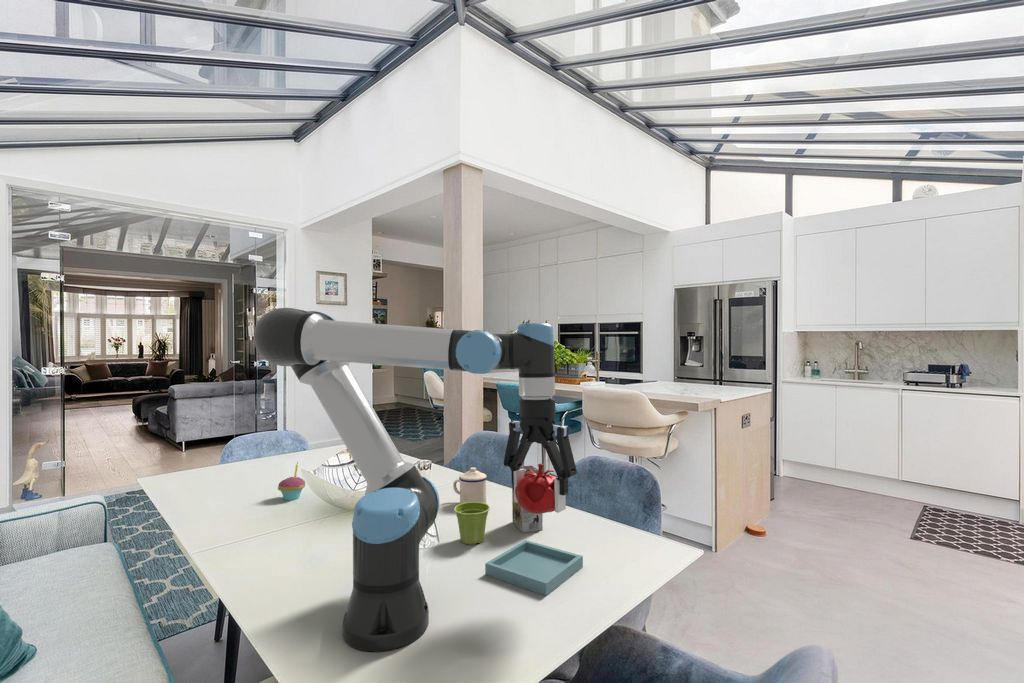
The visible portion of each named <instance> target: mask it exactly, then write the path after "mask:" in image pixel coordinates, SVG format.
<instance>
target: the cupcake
mask: <svg viewBox="0 0 1024 683" xmlns="http://www.w3.org/2000/svg"><path fill="white" fill-rule="evenodd" d="M298 467H299V462H298V461H297V462H296V465H295V470H294V475H293V476H289V477H287V478H285V479H283V480H281V481H280V482H279V483H278V485H277V491H280V493H281V494H282V497H283V500H285V501H295V500H298V499H300V498H301V494H302V491H303V489H304V488H305V487H306V481H305V480H304V478H302V477H299V476H297V474H298V470H299V469H298Z"/></svg>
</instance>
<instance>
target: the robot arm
mask: <svg viewBox="0 0 1024 683" xmlns="http://www.w3.org/2000/svg"><path fill="white" fill-rule="evenodd" d="M253 345H254V347H255V349H256V351H257V353H258V354H259V356H261V358H262V359H264V360H265V361H267V362H268V363H270V364H273V365H274V366H275V365H276V366H280V367H291V369H292V371H293V372H294V375H295V376H296V377H297V380H298V381H299V383H302V384H305V385H309V386H310V387H311V389H312V390H313V392H314V393H315V395H316V397H317V399H318V400H319V402H320V405H322V407H323V410H324V411H325V412H326V414H327V416H328V417H329V419H330V421H331V423H332V425H333V426H334V428H335V430H336V432H337V433H338V435H339V436H340V438H341V440H342V442H343V444H344V446H345V447H346V449H347V450H348V452H349V454H350V455H351V457H352V459H353V461H354V463H355V465H356V467H357V468H358V470H359V471H360V473H361V475H362V477H363V478H364V481H365V482H366V488H365V493H364V495H363V496H361V498H359V500H358V501H357V502H356V503H355V506H354V508H353V516H352V522H351V526H352V575H353V576H352V578H353V580H352V584H353V585H352V591H351V593H350V597H349V601H348V604H347V608H346V611H345V613H344V615H343V619H342V638H343V640H344V642H345V643H346V644H348V645H349V646H350V647H352V648H354V649H357V650H360V651H366V652H383V651H385V652H386V651H391V650H395V649H398V648H401V647H404V646H406V645H409V644H411V643H412V642H414V641H416V640H417V639H419V638H420V637H421V636H422V635H423V634H424V633H425V631H426V630H427V628H428V626H429V624H430V622H429V621H430V619H429V617H430V616H429V614H430V613H429V612H430V610H429V605H428V602H427V601H426V600H427V599H426V597H425V593H424V590H423V587H422V585H421V584H422V583H421V581H420V543H421V541H423V539H424V536H425V535H426V534H427V532H428V531H429V530H430V528H431V527H432V526H433V524H434V523H435V521H436V520H437V515H438V512H439V509H440V496H439V492H438V489H437V488H436V486H435V484H434V483H433V482H432V481H431V480H430V479H429V478H427V477H425V476H422V475H421V474H420V472H419V469H417V467H416V465H415V463H412V462H408V461H406V460H404V458H403V457H402V455H401V454H400V452H399V450H398V448H397V447H396V445H395V444H394V442H393V440H392V439H391V436H390V435H389V433H388V431H387V430H386V428H385V426H384V425H383V422H382V421H381V420H380V418H379V416H378V414H377V412H376V410H375V408H373V406H372V404H371V401H370V400H369V399H368V397H367V396H366V394H365V391H364V390H363V388H362V386H361V385H360V383H359V381H358V380H357V378H356V376H355V374H354V372H352V371H353V370H352V369H351V368H350V363H355V364H356V363H357V364H368V365H378V366H379V365H382V366H383V365H384V366H395V367H406V368H407V367H408V368H409V367H410V368H419V369H421V368H422V369H433V370H435V369H436V370H448V371H456V372H457V371H458V372H469V373H470V374H474V375H475V374H476V375H477V374H478V375H483V374H487V373H489V372H491V371H495V370H518V395H519V396H520V397H521V398H520V399H519V402H518V404H519V408H518V410H519V411H518V412H519V413H518V414H519V416H520V417H521V419H520V421H519V420H514V421H509V423H508V430H509V432H508V438H507V444H506V447H505V454H504V459H503V466H505V467H508V468H509V469H510V472H511V484H512V485H514V502H516V503H518V501H517V498H516V495H515V487H516V486H517V483H518V482H519V481H520V480H521V479H522V478H524V469H520V468H522V467H523V466H524V465H523V463H524V461H525V460H526V457H527V454H528V453H529V450H530V448H531V446H532V444H533V443H537V444H540V445H541V447H542V448H544V450H545V452H546V454H547V456H548V458H549V461H550V463H551V464H552V466H553V469H554V470H553V471H554V472H555V474H556V477H557V478H556V479H554V486H555V511H554V512H555V513H557V514H558V513H561V512H562V511H563V512H564V511H565V510H566V509H567V508H566V507H567V502H566V499H567V498H566V497H567V496H566V495H568V494H569V478H571V477H573V476H576V475H577V474H578V470H577V466H576V461H575V459H574V458H575V457H574V454H573V450H572V445H571V442H570V439H569V432H570V431H569V429H570V428H569V426H568V425H558V424H557V423H556V420H555V418H556V413H557V412H556V410H557V409H556V399H555V398H554V396H555V395H556V379H555V378H556V377H555V374H556V373H555V371H556V370H555V338H554V328H553V326H552V325H551V324H550V323H546V322H528V323H520V324H518V326H517V330H516V332H513V333H491V332H489V331H486V330H479V329H478V330H477V329H475V330H465V329H454V328H452V329H451V328H439V327H438V328H437V327H428V326H427V327H424V326H410V325H399V324H398V325H397V324H383V323H370V322H369V323H368V322H358V321H356V322H355V321H344V320H337V319H335V318H334V317H332V316H330V315H328V314H326V313H323V312H321V311H316V310H309V311H307V310H304V309H303V310H302V309H299V308H293V307H280V308H276V309H275V308H274V309H273V310H270V311H268V312H266V313H265V314H264V315H263V316H261V317H260V318H259V320H258V321H257V323H256V325H255V326H254V330H253ZM521 432H522V435H521ZM555 436H556V438H555ZM521 466H522V467H521ZM512 485H511V486H512Z"/></svg>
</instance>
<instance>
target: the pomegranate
mask: <svg viewBox="0 0 1024 683" xmlns="http://www.w3.org/2000/svg"><path fill="white" fill-rule="evenodd" d="M537 466H538V469H537V470H538V473H537V474H536V473H534V472H533V471H532V470H531V469H529V470H527V471H531V473H532V474H531V473H526V474H525V475H527V474H529V475H527V476H525V475H524V476H525V477H524V478H522V479H521V480H520V481H519V482H518V483H517V486H516V487H515V495H516V498H517V501H518V503H519V505H520V506H521V507H522V508H523V509H524V510H525V511H527V512H530V513H534V514H542V513H543V514H545V513H546V514H547V513H552V512H555V486H554V479H556V478H558V476H555V475H551V474H548V473H554V472H555V470H551V469H548V470H545V471H544V472H543V468H544V463H537ZM525 472H526V471H525Z"/></svg>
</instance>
